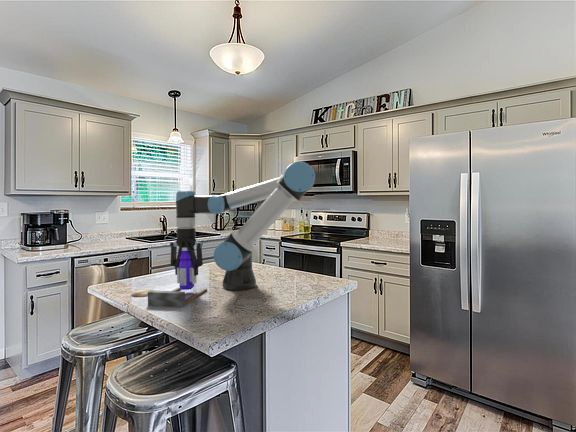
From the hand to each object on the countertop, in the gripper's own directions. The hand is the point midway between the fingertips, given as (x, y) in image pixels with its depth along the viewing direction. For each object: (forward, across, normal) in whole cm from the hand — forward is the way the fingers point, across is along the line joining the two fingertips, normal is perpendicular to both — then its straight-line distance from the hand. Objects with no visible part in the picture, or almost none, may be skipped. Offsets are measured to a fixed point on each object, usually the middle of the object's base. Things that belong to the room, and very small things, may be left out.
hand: (186, 282), depth 139 cm
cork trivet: (+4, +18, +4) cm, 19 cm away
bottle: (+3, 0, 0) cm, 3 cm away
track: (+4, 0, +7) cm, 8 cm away
